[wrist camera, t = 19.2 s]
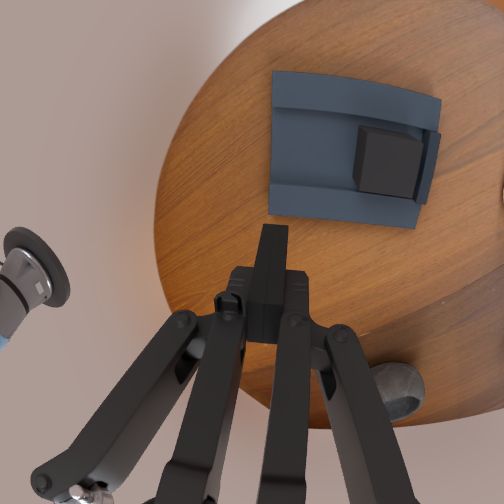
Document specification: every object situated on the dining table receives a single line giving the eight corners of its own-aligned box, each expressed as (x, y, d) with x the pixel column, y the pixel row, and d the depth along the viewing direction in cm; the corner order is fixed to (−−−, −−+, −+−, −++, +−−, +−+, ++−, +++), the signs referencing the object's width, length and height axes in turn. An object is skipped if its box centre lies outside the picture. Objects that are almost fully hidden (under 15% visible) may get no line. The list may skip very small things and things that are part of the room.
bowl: (341, 362, 50) (344, 408, 42) (416, 340, 45) (427, 385, 36) (358, 393, 57) (360, 431, 49) (419, 375, 51) (427, 413, 43)
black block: (351, 177, 30) (358, 191, 26) (358, 125, 26) (367, 132, 23) (400, 184, 29) (412, 198, 26) (409, 134, 25) (423, 143, 22)
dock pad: (269, 207, 34) (267, 218, 32) (273, 71, 25) (271, 70, 23) (409, 221, 32) (417, 233, 30) (433, 97, 23) (446, 100, 21)
